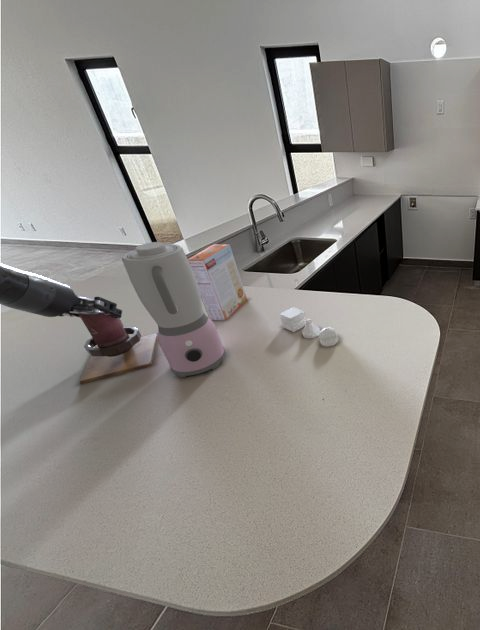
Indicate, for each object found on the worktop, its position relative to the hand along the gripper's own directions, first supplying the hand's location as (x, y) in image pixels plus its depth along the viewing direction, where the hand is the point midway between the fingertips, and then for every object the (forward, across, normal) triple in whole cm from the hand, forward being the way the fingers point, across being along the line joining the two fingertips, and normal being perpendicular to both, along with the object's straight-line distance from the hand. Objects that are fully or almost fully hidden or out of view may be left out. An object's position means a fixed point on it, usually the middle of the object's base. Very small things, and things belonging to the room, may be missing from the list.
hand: (105, 315), depth 83 cm
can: (+6, 0, +8) cm, 10 cm away
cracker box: (+25, -17, -7) cm, 32 cm away
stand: (+8, 0, +10) cm, 13 cm away
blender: (+5, -22, +14) cm, 27 cm away
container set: (+14, -48, +5) cm, 50 cm away
